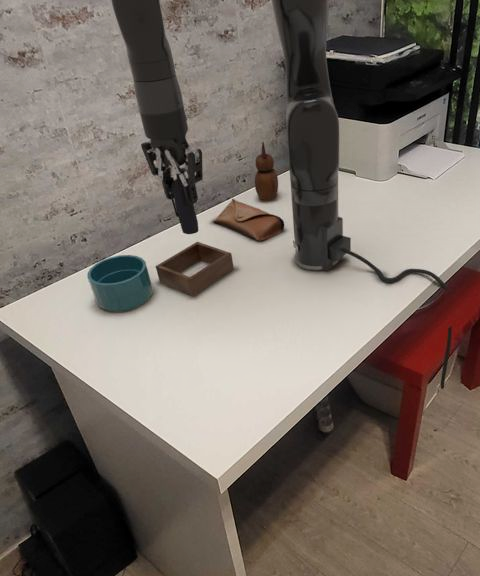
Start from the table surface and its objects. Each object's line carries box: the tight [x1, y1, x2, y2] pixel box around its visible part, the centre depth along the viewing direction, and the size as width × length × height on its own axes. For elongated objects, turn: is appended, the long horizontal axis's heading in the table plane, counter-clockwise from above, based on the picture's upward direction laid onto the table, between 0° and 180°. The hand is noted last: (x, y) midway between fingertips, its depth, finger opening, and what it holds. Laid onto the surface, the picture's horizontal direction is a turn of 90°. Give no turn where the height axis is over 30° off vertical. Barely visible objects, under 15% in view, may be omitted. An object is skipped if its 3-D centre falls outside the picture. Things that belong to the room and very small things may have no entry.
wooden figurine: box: [254, 141, 279, 201], centre depth 135 cm, size 7×6×15 cm
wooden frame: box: [155, 241, 235, 297], centre depth 110 cm, size 10×12×4 cm
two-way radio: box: [165, 166, 199, 235], centre depth 100 cm, size 6×4×15 cm
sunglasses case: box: [212, 198, 285, 242], centre depth 127 cm, size 18×7×7 cm, turn 46°
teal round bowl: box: [87, 254, 154, 313], centre depth 105 cm, size 11×11×6 cm
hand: (182, 200), depth 100 cm, fingers closed on two-way radio, 5 cm apart
